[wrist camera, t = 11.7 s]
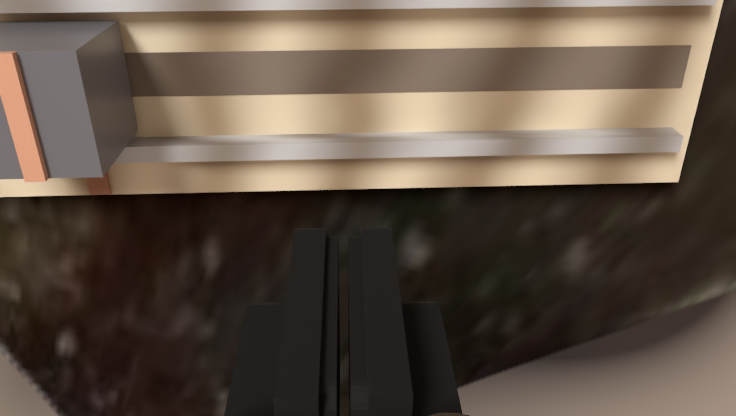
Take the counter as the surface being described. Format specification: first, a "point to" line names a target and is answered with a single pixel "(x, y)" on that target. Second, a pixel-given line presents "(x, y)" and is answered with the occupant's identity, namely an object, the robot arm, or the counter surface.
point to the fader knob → (63, 99)
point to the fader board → (395, 92)
